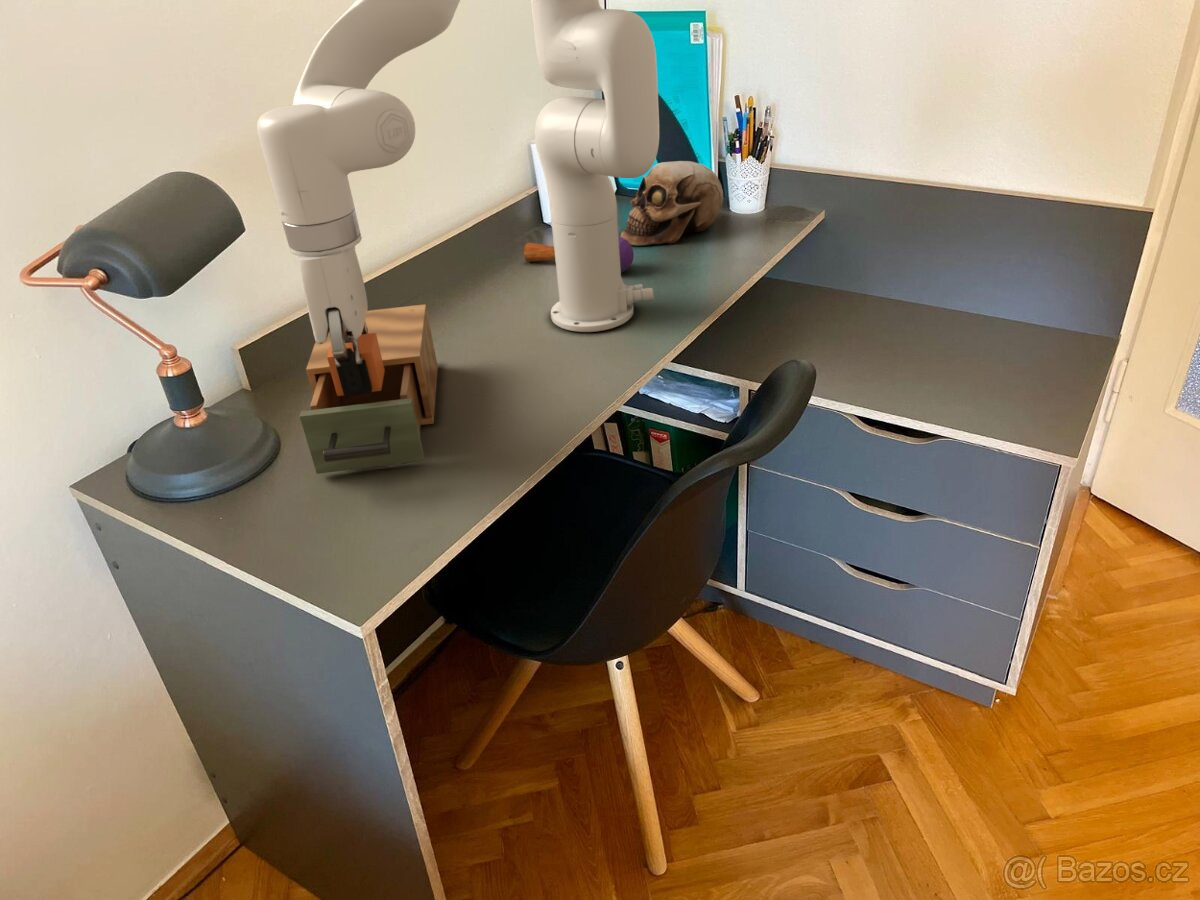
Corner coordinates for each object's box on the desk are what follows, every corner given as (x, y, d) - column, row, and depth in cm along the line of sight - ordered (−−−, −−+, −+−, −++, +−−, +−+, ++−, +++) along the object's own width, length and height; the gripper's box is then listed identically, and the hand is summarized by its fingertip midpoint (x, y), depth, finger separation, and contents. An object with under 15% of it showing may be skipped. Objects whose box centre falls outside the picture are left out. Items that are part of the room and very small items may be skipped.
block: (384, 370, 107) (375, 332, 104) (381, 390, 103) (371, 351, 100) (342, 375, 107) (332, 337, 104) (337, 396, 103) (326, 357, 100)
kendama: (536, 232, 158) (638, 234, 149) (539, 266, 161) (640, 270, 152) (518, 237, 154) (622, 240, 145) (521, 272, 156) (624, 277, 147)
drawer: (421, 484, 101) (408, 425, 96) (310, 498, 100) (291, 439, 96) (429, 399, 117) (418, 346, 113) (333, 411, 116) (318, 357, 112)
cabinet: (433, 423, 114) (419, 356, 108) (325, 436, 113) (305, 369, 107) (437, 366, 127) (425, 304, 121) (340, 378, 126) (324, 315, 121)
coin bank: (612, 242, 162) (613, 166, 156) (654, 221, 175) (657, 150, 169) (692, 255, 155) (697, 176, 149) (729, 232, 169) (735, 159, 162)
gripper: (299, 209, 102) (338, 352, 112) (271, 264, 87) (318, 423, 97) (366, 201, 102) (398, 345, 112) (349, 255, 88) (387, 414, 98)
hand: (360, 379), depth 105 cm, fingers closed on block, 5 cm apart
